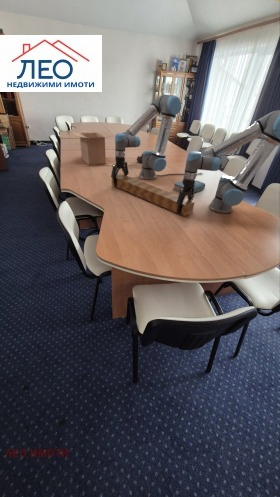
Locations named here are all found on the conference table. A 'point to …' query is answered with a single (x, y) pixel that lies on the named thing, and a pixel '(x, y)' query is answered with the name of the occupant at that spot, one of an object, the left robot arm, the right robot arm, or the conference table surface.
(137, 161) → the laser sight
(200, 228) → the conference table surface
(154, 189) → the long wooden beam
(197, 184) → the book
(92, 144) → the box
